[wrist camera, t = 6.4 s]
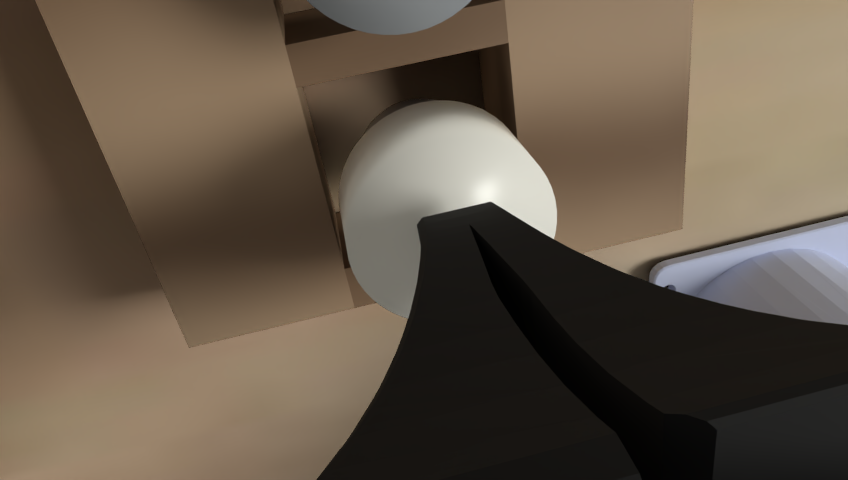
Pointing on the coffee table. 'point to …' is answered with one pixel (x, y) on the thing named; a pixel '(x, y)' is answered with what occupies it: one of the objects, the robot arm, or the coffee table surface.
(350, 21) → the blue-grey ball
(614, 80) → the wooden tray
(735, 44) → the coffee table surface
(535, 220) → the white ball
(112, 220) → the coffee table surface
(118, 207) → the coffee table surface
